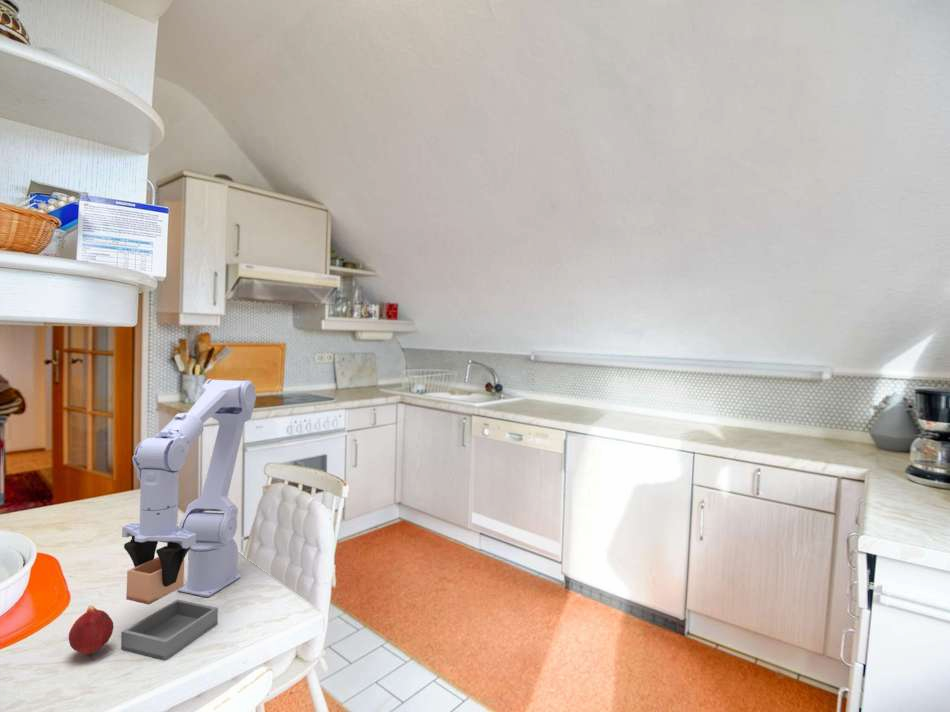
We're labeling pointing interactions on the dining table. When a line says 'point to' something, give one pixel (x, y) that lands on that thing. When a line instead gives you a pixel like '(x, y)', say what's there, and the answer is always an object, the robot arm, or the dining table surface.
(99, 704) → the dining table surface
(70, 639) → the onion
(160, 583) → the small crate
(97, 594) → the dining table surface
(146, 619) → the big crate
